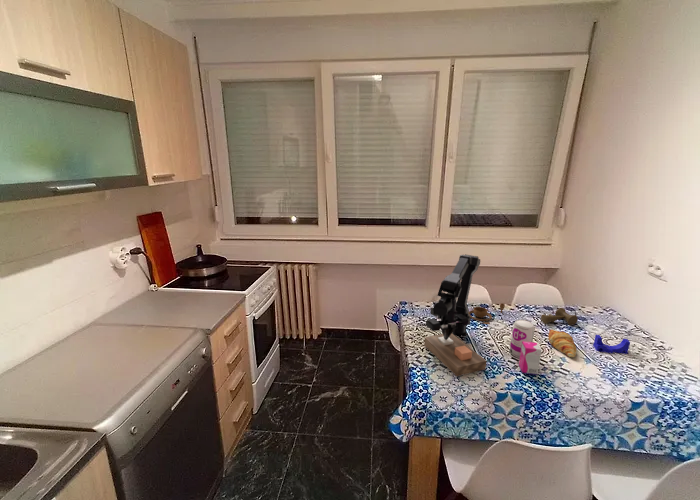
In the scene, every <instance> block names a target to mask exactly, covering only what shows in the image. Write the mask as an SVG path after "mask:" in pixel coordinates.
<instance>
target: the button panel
mask: <svg viewBox="0 0 700 500" xmlns="http://www.w3.org/2000/svg"><path fill="white" fill-rule="evenodd" d="M438 337H444V336H443V333H440V334H435V335H429V336H425V337H424V339H423V341H424V344H423V345H424V347H426V348H427V350H429V351H430V352H431V353H432V354H433V355H434V356H435V357H436V358H437V359H438V360H439V361H440V362H441V363H442V364H443V365H444V366H445V367H446V368H447V369H449V370H450V372H452V374H454V375H455V377H460V376H466V375H468V374H473V373H476V372H481V371H484V370H486V369H487V360H486V359H485V358H484V357H482V356H481V354H479V353H477V352H476V351H475V350H474V349H473V348H471V347H470V346H469V345H467V344H466V343H464V342H463V341H462V340H461V339H460V338H459V337H456V336H455V335H454V334H453V333H452V334H451V335H450V336H449V338H450V339H452V340H453V341H454V342H453V344H449V345H443V344H442V343H441V342H439V341H438ZM460 346H466V347H467V348H468V349H470V350H471V351H472V357H471V359H467V360H463V361H461V360H460V359H459V358H458V357H457V356H455V355H454V352H455V347H460Z"/></svg>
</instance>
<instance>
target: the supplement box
mask: <svg viewBox="0 0 700 500" xmlns="http://www.w3.org/2000/svg"><path fill="white" fill-rule="evenodd" d="M541 355H542V348H541V346H540V345H539V343H538V342H525V341H522V347H521V354H520V358H519V362H518V366H519V368H520V371H521V373H522V375H523V374H526V375H532V376H538V374H539V369H540V363H541Z"/></svg>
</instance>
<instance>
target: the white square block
mask: <svg viewBox="0 0 700 500" xmlns="http://www.w3.org/2000/svg"><path fill="white" fill-rule="evenodd" d="M438 341H439V342H441V343H442V344H443V345H449V344H453V342H454V341H453V340H452V339H450V338H448V339H447V340H445V339H444V337H438Z"/></svg>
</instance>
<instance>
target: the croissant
mask: <svg viewBox="0 0 700 500" xmlns="http://www.w3.org/2000/svg"><path fill="white" fill-rule="evenodd" d="M547 336H548V341H549V344H550V345H551V346H552V347H553V348H555V350H557V351H559V352H561V353H563V354H564V355H566V356H567V357H569V358H575V357H576V355H577V345H576V344H575V341H574V339H573V337H572V335H570V334H569V333H568V332H565V331H563V330H562V331H559V330H558V331H557V330H555V329H549V331H548V335H547Z"/></svg>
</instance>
